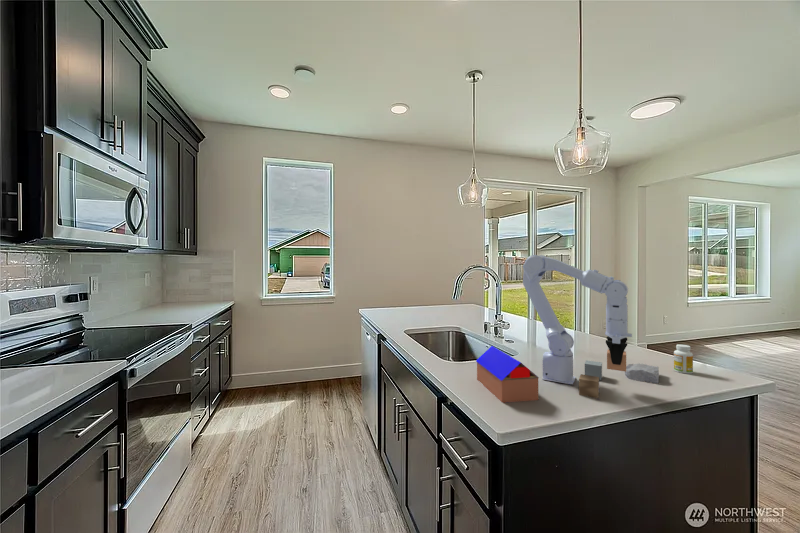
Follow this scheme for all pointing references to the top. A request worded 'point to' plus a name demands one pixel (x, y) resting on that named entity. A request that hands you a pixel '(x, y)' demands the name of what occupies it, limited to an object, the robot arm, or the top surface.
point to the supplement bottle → (683, 359)
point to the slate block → (593, 369)
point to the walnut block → (589, 386)
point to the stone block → (642, 372)
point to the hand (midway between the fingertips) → (616, 361)
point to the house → (506, 377)
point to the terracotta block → (615, 366)
